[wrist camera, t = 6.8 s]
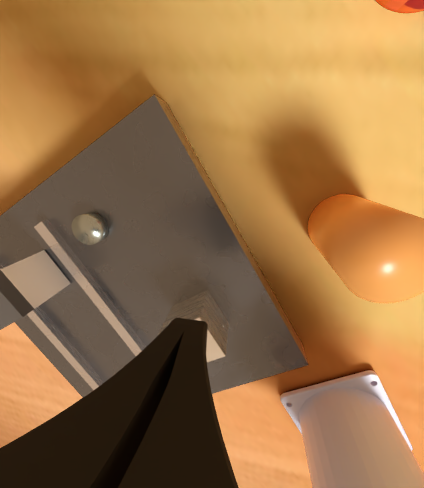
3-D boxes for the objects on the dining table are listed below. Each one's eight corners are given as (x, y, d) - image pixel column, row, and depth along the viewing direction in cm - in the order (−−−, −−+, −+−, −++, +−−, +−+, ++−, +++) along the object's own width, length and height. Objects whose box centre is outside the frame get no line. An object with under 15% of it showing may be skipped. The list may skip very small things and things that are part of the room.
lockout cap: (382, 237, 15) (459, 281, 10) (321, 262, 16) (359, 315, 11) (360, 181, 14) (431, 196, 9) (297, 212, 16) (325, 243, 10)
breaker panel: (302, 344, 19) (320, 405, 14) (118, 404, 25) (87, 461, 20) (166, 102, 14) (127, 75, 10) (-21, 244, 20) (-101, 270, 16)
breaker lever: (70, 283, 18) (22, 317, 14) (44, 298, 18) (-8, 334, 15) (44, 250, 17) (-14, 275, 13) (18, 267, 18) (-44, 295, 14)
